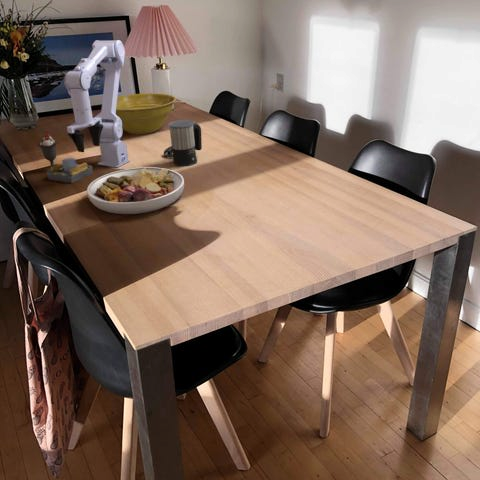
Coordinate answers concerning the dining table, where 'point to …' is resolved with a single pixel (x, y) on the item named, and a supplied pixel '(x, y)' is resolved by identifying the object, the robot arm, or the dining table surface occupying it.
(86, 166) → the grey square frame
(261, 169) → the dining table surface
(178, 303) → the dining table surface
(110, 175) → the bowl
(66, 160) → the blue-grey rounded cylinder
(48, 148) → the sundae
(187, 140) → the milk frother
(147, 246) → the dining table surface
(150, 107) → the planter bowl
